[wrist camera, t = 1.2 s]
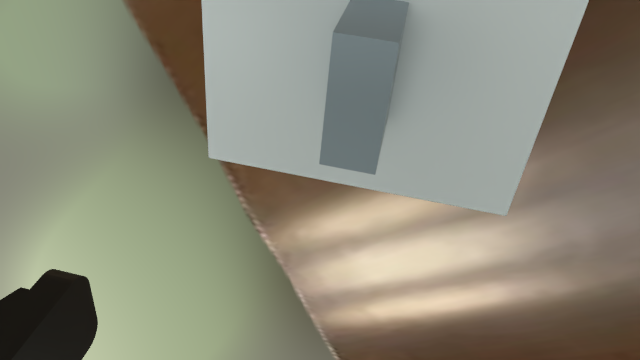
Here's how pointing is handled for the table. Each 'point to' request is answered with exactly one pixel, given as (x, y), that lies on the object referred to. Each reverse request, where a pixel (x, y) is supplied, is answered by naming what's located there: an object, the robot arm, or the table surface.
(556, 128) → the table surface
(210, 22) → the lid
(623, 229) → the table surface
